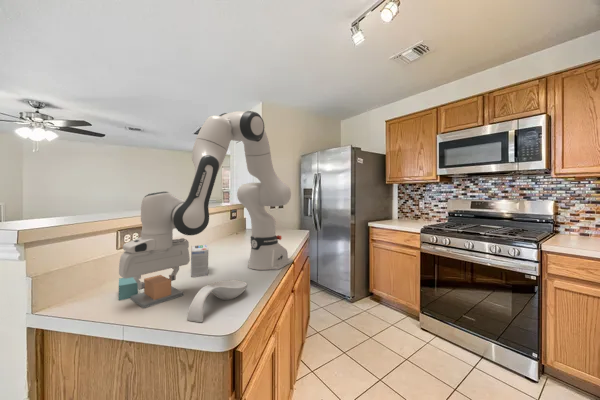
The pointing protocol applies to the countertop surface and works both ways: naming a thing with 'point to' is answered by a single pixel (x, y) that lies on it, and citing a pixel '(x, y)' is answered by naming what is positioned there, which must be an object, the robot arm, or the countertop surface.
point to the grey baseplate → (147, 301)
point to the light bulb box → (199, 260)
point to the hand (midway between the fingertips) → (157, 284)
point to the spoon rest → (219, 289)
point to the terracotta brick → (157, 287)
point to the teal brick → (127, 288)
